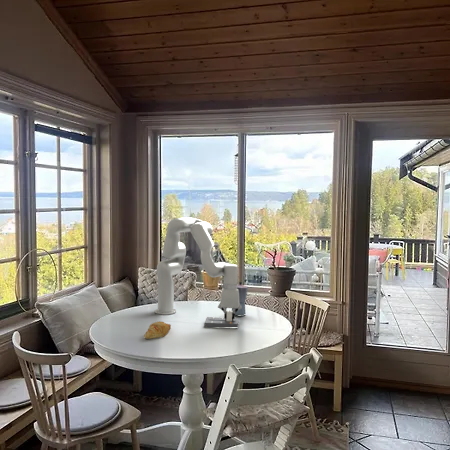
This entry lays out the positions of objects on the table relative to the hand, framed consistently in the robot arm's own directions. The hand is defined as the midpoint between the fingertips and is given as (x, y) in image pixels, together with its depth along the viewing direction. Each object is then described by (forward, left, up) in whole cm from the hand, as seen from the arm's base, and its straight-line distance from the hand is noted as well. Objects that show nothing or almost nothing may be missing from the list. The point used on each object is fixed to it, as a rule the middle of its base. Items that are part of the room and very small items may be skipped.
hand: (229, 319), depth 253 cm
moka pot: (-23, +4, -3) cm, 24 cm away
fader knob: (0, 0, -3) cm, 3 cm away
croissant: (+23, -35, -4) cm, 42 cm away
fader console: (0, -4, -3) cm, 5 cm away
